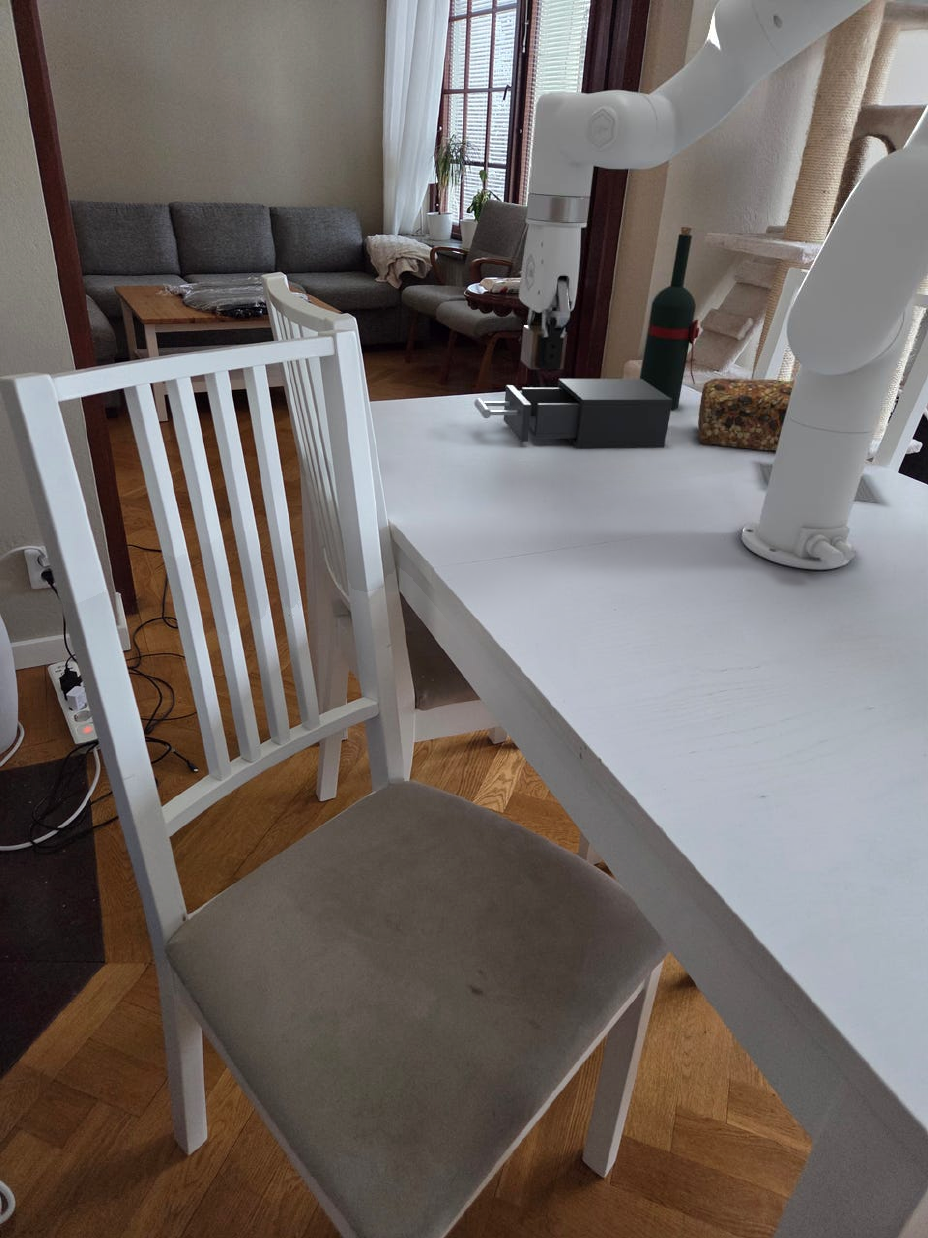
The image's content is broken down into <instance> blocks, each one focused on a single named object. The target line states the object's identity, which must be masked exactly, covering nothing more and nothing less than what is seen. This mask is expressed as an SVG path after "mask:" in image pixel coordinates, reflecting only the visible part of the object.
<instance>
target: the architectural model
mask: <svg viewBox="0 0 928 1238" xmlns="http://www.w3.org/2000/svg"><path fill="white" fill-rule="evenodd" d="M759 466H760V469H761V472H762V476H763V479H764V483H765V485H766V488H767V487H768V483H769V479H770V475H771V471H772V467H773V464H772V465H771V464H764V463H763V464H762V463H759ZM854 501H861V502H870V503H878V504H880V501H879V500H878V498H877V496H876V495H875V493H874V491H873V490H872V488H871V487H870V485H869V483H868V482H867V480H866V479H865V477H864V475H862V476H861V479H860V482H859V486H858V489H857V492H856V495H855V499H854Z"/></svg>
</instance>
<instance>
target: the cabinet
mask: <svg viewBox="0 0 928 1238" xmlns="http://www.w3.org/2000/svg"><path fill="white" fill-rule="evenodd" d="M557 388H564V389H565V390H566V391H567V392H568V393H570V394H571V395H572V396H573V397H574V398H575V399H576V400H578V401H579V402H580V403H581V406H580V414H579V422H578V430H577V438H567V440H568V441H569V442H570V443H571V444H572V445H573V446H574V447H575V448H576V449H615V448H616V449H624V448H626V449H627V448H628V449H629V448H631V449H632V448H665V446H666V445H665V444H666V439H667V433H668V428H669V421H670V416H671V411H672V410H671V406H672V405H671V404H672V399H671V398H669V397H668V396H666V395H665V394H663V393H662V392H660V391H659V390H657V389H656V388H654V387H653V386H651V385H650V384H648V383H647V382H645V381H644V380H642V379H639V378H558V383H557Z"/></svg>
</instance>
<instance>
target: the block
mask: <svg viewBox="0 0 928 1238" xmlns="http://www.w3.org/2000/svg"><path fill="white" fill-rule="evenodd" d="M522 329H523V330H522V341H521V352H520V354H521V355H520V362H521V363H523V364H524V365H525V366H526V367H527V368H528V369H529V370H539V369H538V368H537V367H536V361H537V351H538V340H539V336H542V326H527V325H523V327H522ZM567 337H568V332H566V331H565V336H564V340H563V349H562V358H561V367H560V368H559V369H558V370H564V365H565V356H566V347H567V340H568V338H567Z"/></svg>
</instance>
